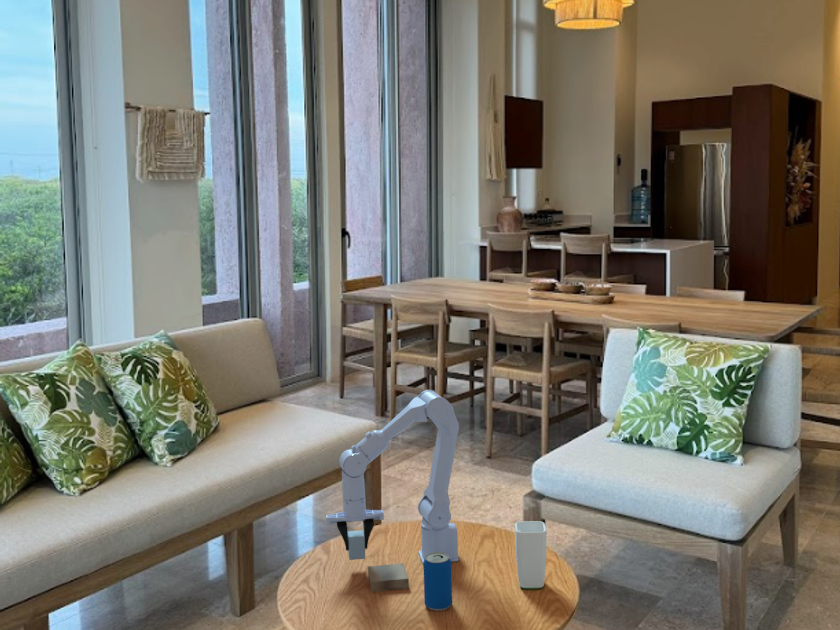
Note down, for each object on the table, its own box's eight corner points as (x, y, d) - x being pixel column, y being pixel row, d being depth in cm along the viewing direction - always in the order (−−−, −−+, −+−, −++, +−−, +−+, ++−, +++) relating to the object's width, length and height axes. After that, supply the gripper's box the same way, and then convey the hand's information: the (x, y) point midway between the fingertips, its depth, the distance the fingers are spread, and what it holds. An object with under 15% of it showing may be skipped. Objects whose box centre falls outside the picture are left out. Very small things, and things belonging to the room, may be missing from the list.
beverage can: (455, 601, 212) (454, 553, 210) (447, 614, 206) (446, 564, 204) (429, 598, 214) (428, 550, 212) (420, 610, 208) (419, 561, 206)
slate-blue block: (363, 552, 233) (363, 530, 232) (365, 558, 229) (364, 536, 228) (348, 553, 232) (347, 531, 231) (349, 560, 228) (348, 537, 227)
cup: (544, 578, 223) (544, 520, 220) (547, 591, 215) (547, 532, 213) (515, 578, 223) (514, 521, 221) (517, 591, 216) (516, 532, 214)
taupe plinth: (403, 574, 228) (403, 563, 228) (408, 590, 219) (408, 578, 219) (368, 577, 227) (368, 566, 226) (372, 593, 218) (371, 581, 218)
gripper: (380, 489, 233) (382, 539, 235) (324, 494, 231) (327, 544, 233) (383, 498, 226) (386, 550, 228) (325, 503, 224) (328, 555, 226)
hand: (356, 548), depth 230 cm, fingers closed on slate-blue block, 4 cm apart
